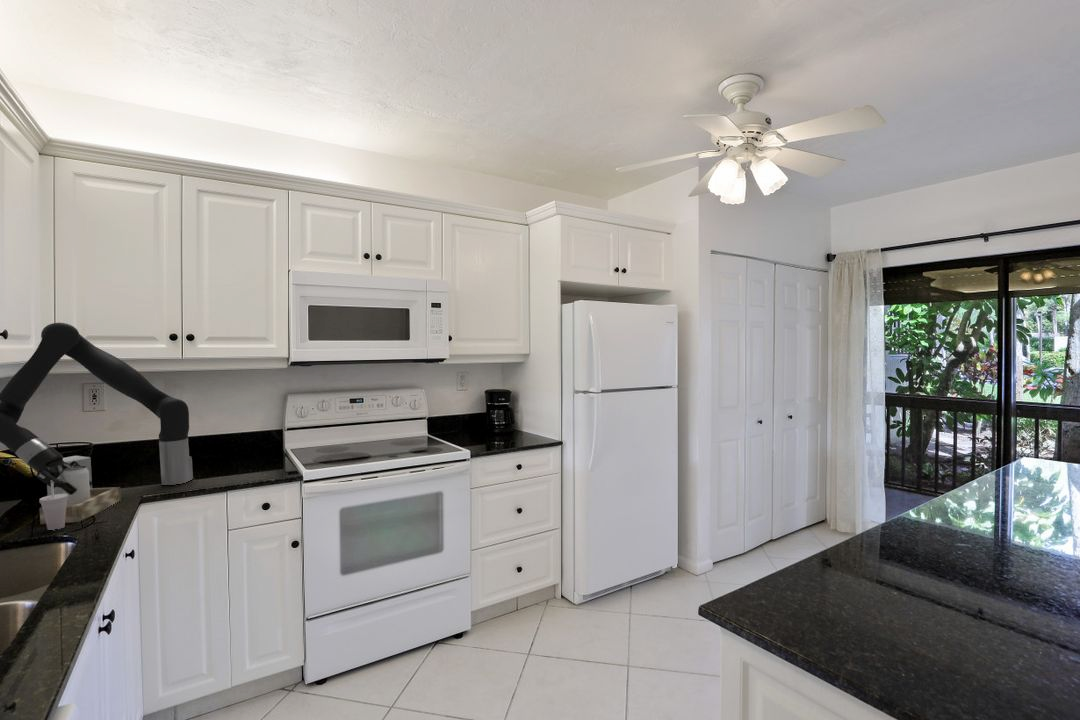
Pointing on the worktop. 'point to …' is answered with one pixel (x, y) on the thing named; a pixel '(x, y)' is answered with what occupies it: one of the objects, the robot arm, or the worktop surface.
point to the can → (77, 484)
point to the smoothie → (54, 509)
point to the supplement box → (81, 461)
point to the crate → (90, 504)
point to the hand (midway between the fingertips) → (82, 489)
